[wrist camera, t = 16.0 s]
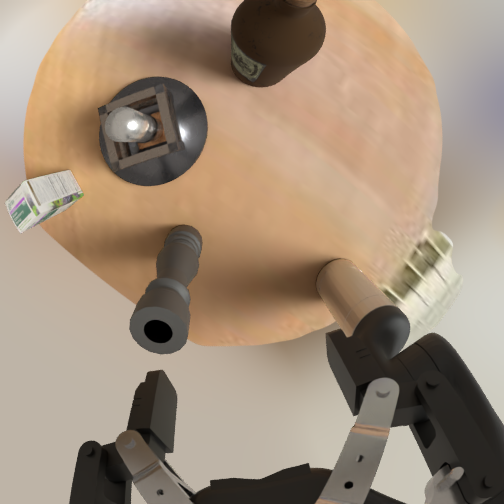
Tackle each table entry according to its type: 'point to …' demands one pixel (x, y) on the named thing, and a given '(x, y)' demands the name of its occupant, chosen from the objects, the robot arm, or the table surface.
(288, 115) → the table surface
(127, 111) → the silver metal bottle
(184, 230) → the candle holder
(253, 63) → the olive oil
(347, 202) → the table surface
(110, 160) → the collar stand
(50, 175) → the syrup box
